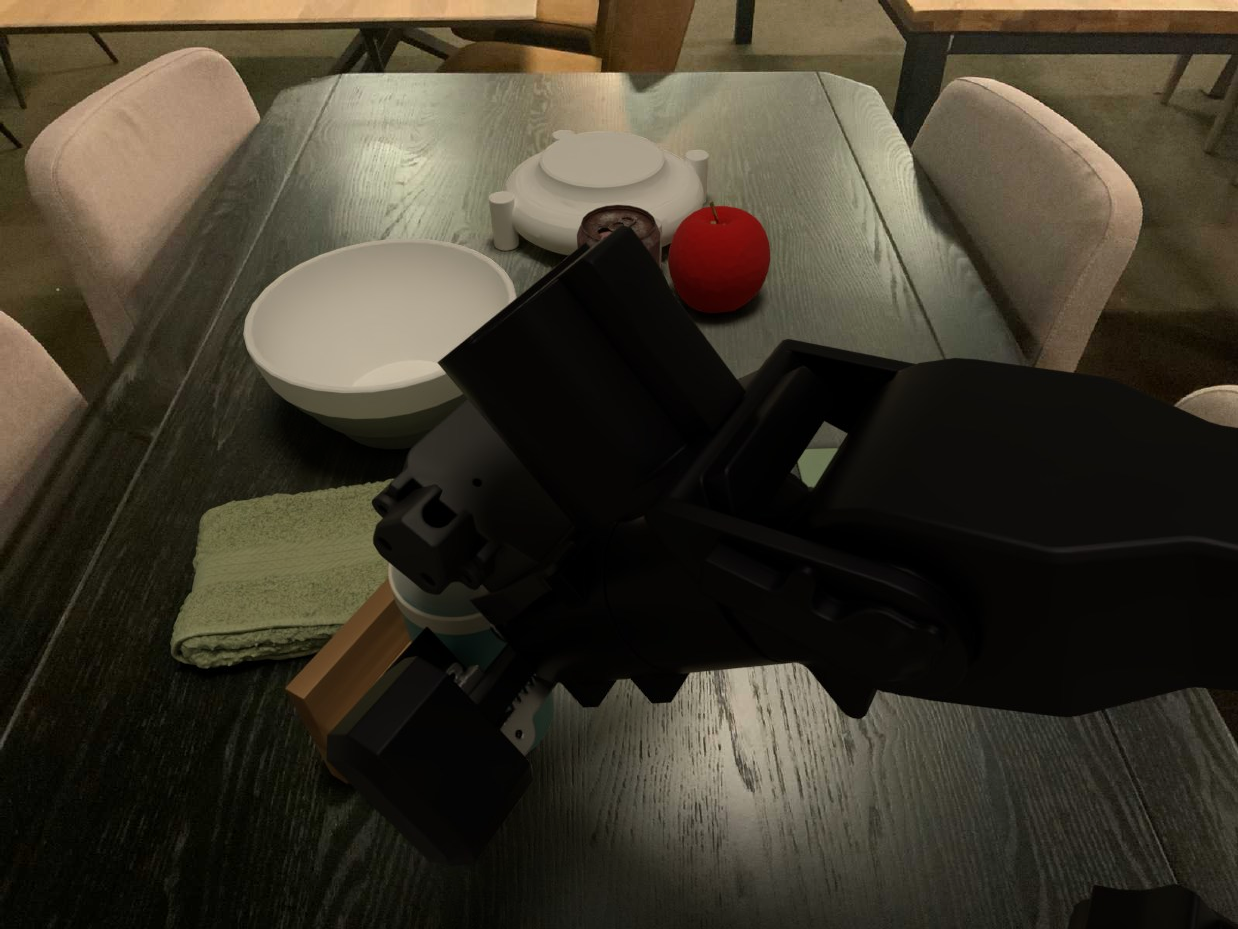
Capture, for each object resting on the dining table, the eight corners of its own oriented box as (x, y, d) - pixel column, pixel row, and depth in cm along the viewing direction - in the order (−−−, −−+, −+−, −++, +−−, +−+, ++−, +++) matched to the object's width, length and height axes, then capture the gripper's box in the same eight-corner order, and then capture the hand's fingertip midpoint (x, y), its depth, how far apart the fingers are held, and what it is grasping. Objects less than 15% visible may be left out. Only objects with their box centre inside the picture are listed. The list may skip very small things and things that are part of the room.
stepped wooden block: (526, 725, 49) (510, 636, 43) (445, 844, 44) (413, 763, 38) (418, 668, 52) (388, 576, 45) (331, 774, 47) (284, 688, 41)
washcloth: (471, 639, 53) (464, 608, 51) (175, 683, 51) (154, 654, 49) (463, 489, 62) (456, 457, 60) (211, 522, 60) (195, 490, 58)
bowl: (542, 336, 76) (533, 240, 69) (507, 497, 62) (492, 396, 55) (325, 330, 77) (296, 234, 70) (243, 487, 63) (197, 386, 56)
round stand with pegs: (536, 308, 79) (529, 238, 74) (460, 195, 94) (451, 132, 89) (761, 250, 86) (769, 182, 81) (656, 154, 101) (657, 92, 96)
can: (577, 394, 70) (567, 241, 60) (591, 348, 74) (585, 198, 64) (650, 402, 69) (653, 248, 59) (660, 354, 74) (665, 203, 64)
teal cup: (580, 700, 44) (566, 547, 35) (499, 791, 40) (462, 647, 32) (494, 640, 46) (462, 485, 38) (411, 721, 43) (356, 571, 34)
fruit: (691, 264, 84) (696, 166, 77) (778, 287, 81) (792, 187, 74) (649, 312, 78) (650, 211, 71) (741, 339, 75) (752, 236, 68)
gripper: (666, 250, 31) (471, 386, 43) (279, 606, 20) (161, 657, 32) (834, 478, 34) (606, 547, 46) (573, 908, 23) (362, 851, 35)
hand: (458, 632), depth 40 cm, fingers closed on teal cup, 6 cm apart
